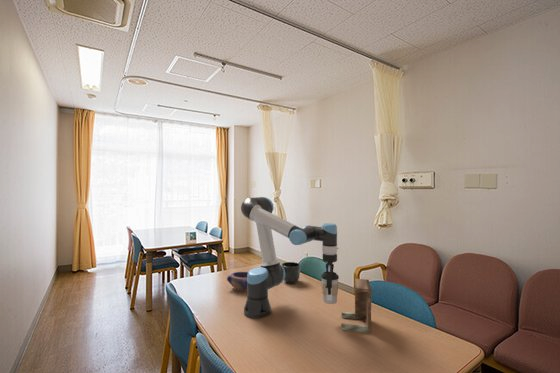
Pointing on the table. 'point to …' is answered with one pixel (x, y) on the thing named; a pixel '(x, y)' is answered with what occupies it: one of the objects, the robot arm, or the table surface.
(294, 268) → the planter
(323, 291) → the coffee cup
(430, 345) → the table surface
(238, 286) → the bowl
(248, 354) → the table surface
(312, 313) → the table surface
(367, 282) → the wooden bookend
